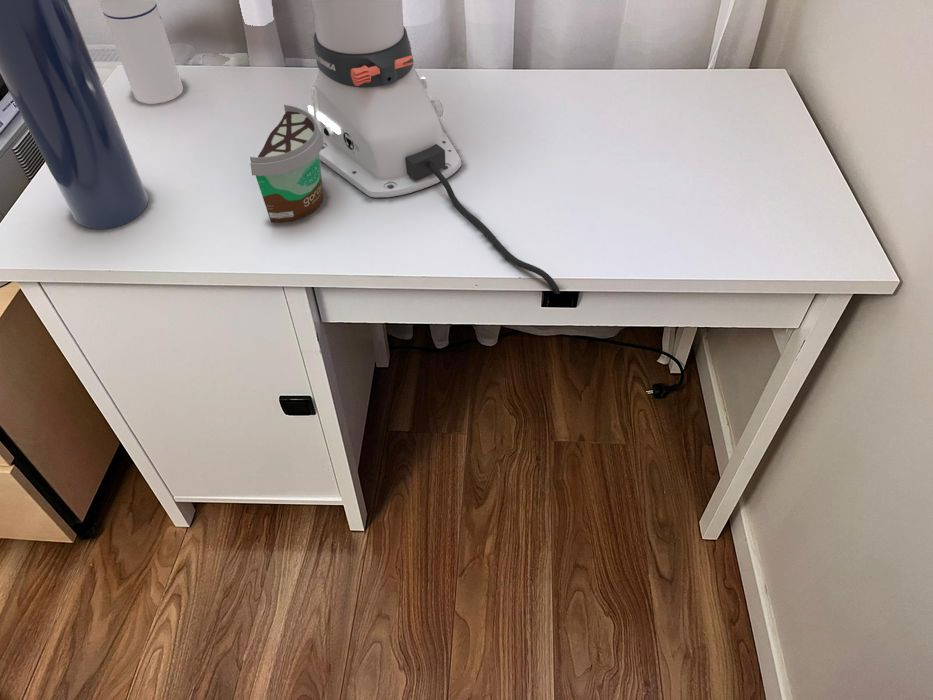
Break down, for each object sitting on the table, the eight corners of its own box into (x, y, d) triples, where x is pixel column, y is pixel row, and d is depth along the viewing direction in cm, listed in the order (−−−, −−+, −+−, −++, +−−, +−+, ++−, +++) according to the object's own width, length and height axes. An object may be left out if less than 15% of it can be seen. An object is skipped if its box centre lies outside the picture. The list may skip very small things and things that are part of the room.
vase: (156, 213, 91) (25, -115, 64) (82, 238, 88) (-90, -96, 61) (137, 177, 96) (8, -142, 69) (66, 198, 93) (-99, -126, 66)
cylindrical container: (127, 103, 108) (55, -83, 89) (143, 78, 113) (78, -104, 94) (175, 104, 108) (113, -83, 89) (188, 79, 113) (132, -103, 94)
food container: (315, 235, 88) (300, 165, 81) (266, 230, 89) (248, 160, 81) (344, 176, 96) (334, 107, 89) (299, 171, 97) (285, 102, 89)
